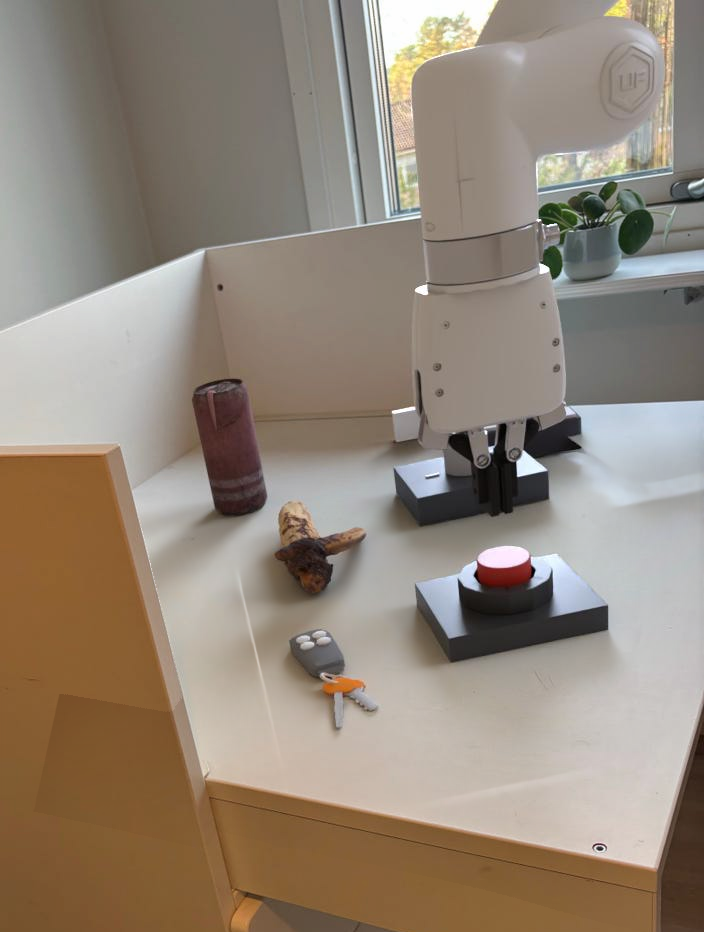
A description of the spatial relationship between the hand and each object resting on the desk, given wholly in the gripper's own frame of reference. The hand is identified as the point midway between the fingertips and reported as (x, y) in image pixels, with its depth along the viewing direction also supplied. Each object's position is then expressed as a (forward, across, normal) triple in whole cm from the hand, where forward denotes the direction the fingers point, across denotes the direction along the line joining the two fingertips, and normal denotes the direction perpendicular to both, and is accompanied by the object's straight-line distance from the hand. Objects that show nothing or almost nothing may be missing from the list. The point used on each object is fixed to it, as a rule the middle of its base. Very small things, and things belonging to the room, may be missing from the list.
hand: (496, 508), depth 74 cm
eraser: (+9, -5, -46) cm, 48 cm away
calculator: (+9, -15, -39) cm, 42 cm away
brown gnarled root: (+9, +12, -17) cm, 23 cm away
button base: (+9, 0, +2) cm, 9 cm away
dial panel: (+9, -5, -24) cm, 26 cm away
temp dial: (+6, -5, -24) cm, 26 cm away
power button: (+5, 0, +2) cm, 5 cm away
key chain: (+9, +15, +6) cm, 18 cm away
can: (+9, +18, -35) cm, 41 cm away
